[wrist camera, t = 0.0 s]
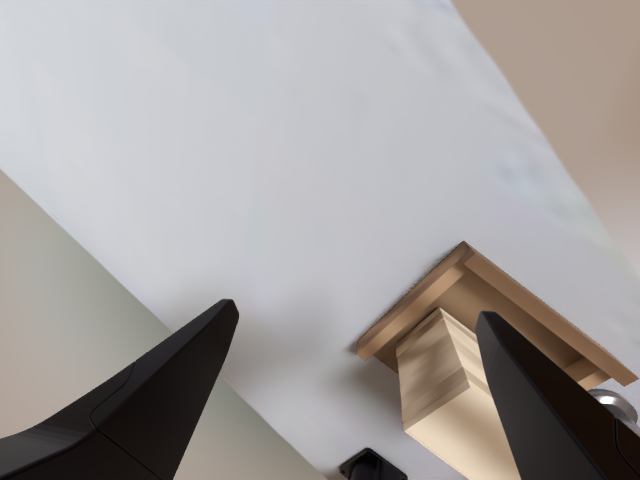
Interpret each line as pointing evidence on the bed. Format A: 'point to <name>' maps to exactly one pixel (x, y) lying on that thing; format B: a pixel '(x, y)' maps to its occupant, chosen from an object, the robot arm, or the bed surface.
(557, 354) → the bay
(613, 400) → the flanged metal cylinder
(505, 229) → the bed surface
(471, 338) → the pale wooden box
